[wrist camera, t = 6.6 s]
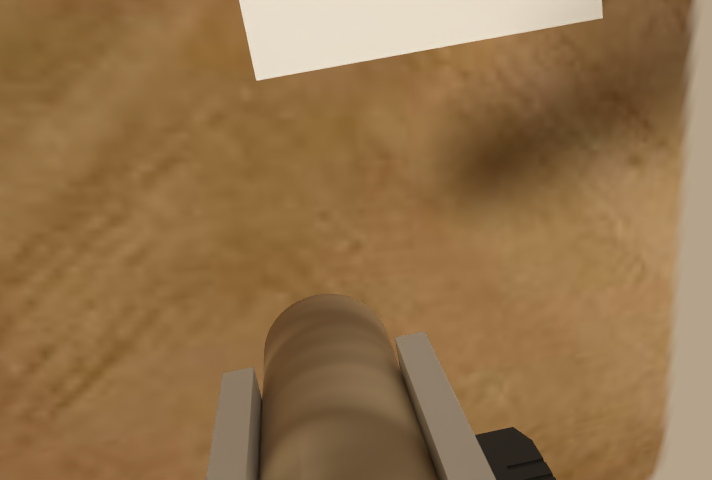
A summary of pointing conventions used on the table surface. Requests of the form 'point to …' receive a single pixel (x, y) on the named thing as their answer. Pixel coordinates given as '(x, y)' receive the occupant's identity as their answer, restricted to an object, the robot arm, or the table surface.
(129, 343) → the table surface
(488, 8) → the socket block
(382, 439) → the peg
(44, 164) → the table surface
